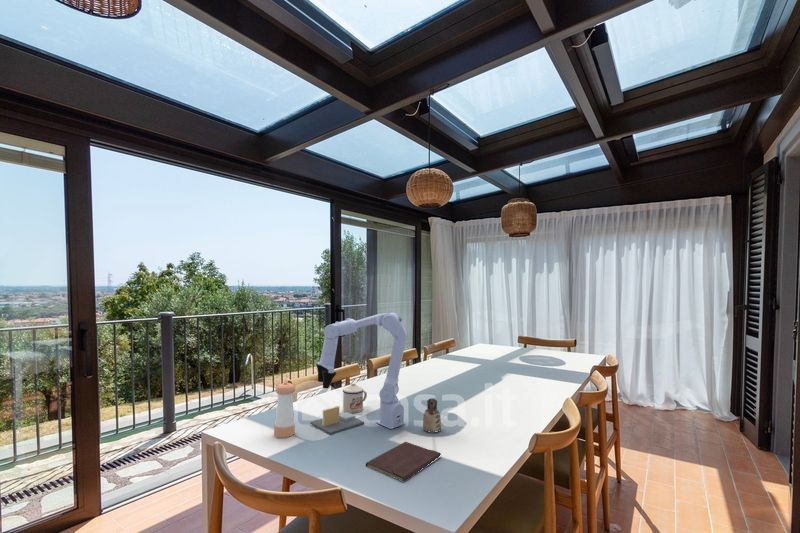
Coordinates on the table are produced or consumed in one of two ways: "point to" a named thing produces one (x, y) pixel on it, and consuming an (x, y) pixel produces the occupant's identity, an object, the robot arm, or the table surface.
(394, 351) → the robot arm
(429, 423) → the figurine
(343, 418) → the slate tile
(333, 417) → the tile
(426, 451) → the notebook
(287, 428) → the pepper shaker
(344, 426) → the mat
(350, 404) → the teacup with lid
